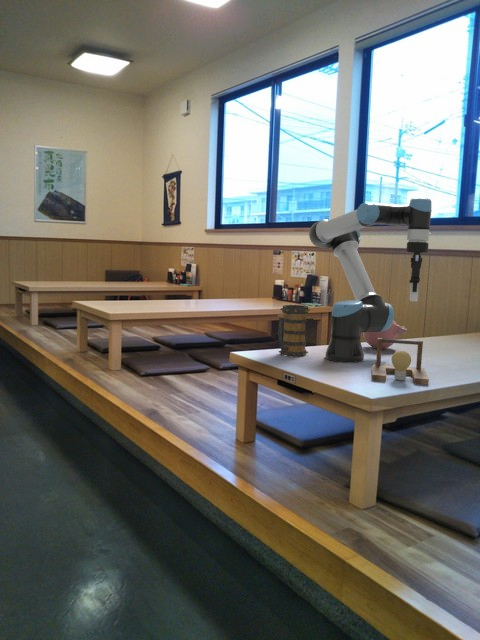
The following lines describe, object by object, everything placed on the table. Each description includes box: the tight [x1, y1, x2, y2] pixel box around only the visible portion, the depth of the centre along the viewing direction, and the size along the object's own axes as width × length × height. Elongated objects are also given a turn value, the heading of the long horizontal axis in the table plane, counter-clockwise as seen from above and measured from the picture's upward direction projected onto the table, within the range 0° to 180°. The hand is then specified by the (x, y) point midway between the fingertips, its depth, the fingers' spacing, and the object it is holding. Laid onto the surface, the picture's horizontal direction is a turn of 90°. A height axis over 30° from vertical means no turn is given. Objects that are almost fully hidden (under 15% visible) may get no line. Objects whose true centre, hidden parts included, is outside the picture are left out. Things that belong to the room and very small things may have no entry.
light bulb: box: [391, 350, 412, 381], centre depth 183 cm, size 6×6×10 cm
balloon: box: [362, 319, 409, 350], centre depth 241 cm, size 15×20×15 cm
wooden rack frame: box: [371, 338, 430, 386], centre depth 188 cm, size 18×18×12 cm
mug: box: [276, 304, 311, 358], centre depth 221 cm, size 13×17×20 cm
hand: (413, 299), depth 200 cm, fingers open, 13 cm apart
